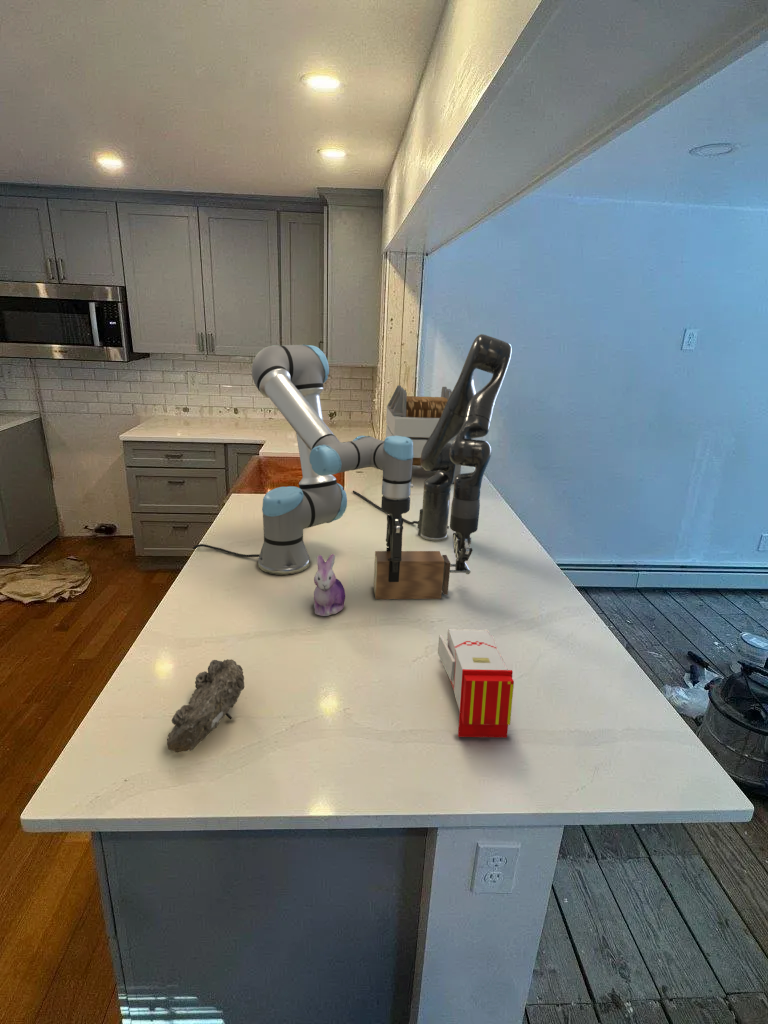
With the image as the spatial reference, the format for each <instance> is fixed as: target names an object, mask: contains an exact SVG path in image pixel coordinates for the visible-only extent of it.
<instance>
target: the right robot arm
mask: <svg viewBox="0 0 768 1024" xmlns="http://www.w3.org/2000/svg"><path fill="white" fill-rule="evenodd" d="M512 351H513V350H512V345H511V344H510V343H509V342H506V341H504V340H501V339H499V338H497V337H493V336H490V335H487V334H483V333H481V334H478V335H477V336H476V337H475V339H474V340H473V342H472V344H471V346H470V348H469V350H468V354H467V356H466V359H465V362H464V363H463V366H462V368H461V372H460V374H459V377H458V379H457V381H456V383H455V385H454V387H453V389H452V390H451V391H452V393H451V395H450V397H449V399H448V401H447V403H446V405H445V407H444V410H443V412H442V415H441V417H440V419H439V421H438V423H437V425H436V427H435V429H434V431H433V432H432V434H431V436H430V437H429V439H428V440H427V442H426V444H425V445H424V447H423V449H422V452H421V457H420V462H421V466H420V467H422V469H423V470H424V471H427V472H434V474H433V475H431V476H429V477H428V478H427V479H425V480H424V482H423V493H422V496H423V497H422V506H421V508H420V509H419V516H418V520H412V521H410V520H407V519H405V518H404V517H402V518H403V523H406V524H408V525H411V526H412V525H415V524H416V525H417V527H416V528H417V535H418V536H420V538H421V539H424V540H426V541H432V542H440V541H444V540H446V539H447V538H448V530H449V529H450V530H451V531H452V532H453V533H452V543H453V554H454V557H455V564H456V565H455V567H454V570H464V567H465V563H466V562H469V560H470V557H471V555H472V553H473V547H471V544H472V537H471V535H472V534H473V533H476V532H478V528H479V520H480V519H479V518H480V510H481V509H480V508H481V499H480V498H481V490H482V489H481V488H482V483H483V478H484V475H485V473H486V469H487V467H488V464H489V463H490V460H491V457H492V454H493V453H492V451H493V450H492V446H491V444H490V443H489V442H488V441H486V440H482V439H480V438H484V437H486V436H487V435H488V434H489V432H490V427H491V423H492V419H493V418H492V417H493V413H494V408H495V405H496V402H497V400H498V399H497V398H498V397H499V394H500V391H501V388H502V385H503V382H504V379H505V376H506V374H507V370H508V368H509V364H510V361H511V357H512ZM475 370H480V371H483V372H486V373H488V374H492V376H491V378H490V379H489V381H488V382H487V383H486V385H484V386H483V387H482V388H481V389H480V390H478V391H477V392H476V387H475V381H474V373H475ZM454 437H456V438H455V440H454V441H453V443H452V444H451V443H448V442H449V441H450V440H452V439H453V438H454ZM455 465H461V467H471V468H475V469H474V470H473V471H471V472H465V473H461V474H459V475H457V476H456V477H455V481H454V483H453V479H454V472H455ZM452 486H453V493H451V491H452ZM352 493H353V494H355V495H357V496H359V497H360V498H361V499H363V500H364V501H366V502H368V503H369V504H370V505H371V506H373V507H375V508H377V509H378V510H380V511H382V512H384V511H383V510H382V508H381V506H379V505H378V504H376V503H374V502H373V501H371V500H369V498H367V497H366V496H364V495H363V494H361V493H360V492H358V491H356V490H352ZM451 494H452V500H451ZM450 504H451V505H450ZM450 507H451V508H450ZM384 513H385V514H387V515H388V513H386V512H384ZM449 514H450V516H449ZM449 517H450V519H449Z"/></svg>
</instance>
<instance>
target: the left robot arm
mask: <svg viewBox="0 0 768 1024" xmlns="http://www.w3.org/2000/svg"><path fill="white" fill-rule="evenodd" d="M329 374H330V365H329V361H328V358H327V356H326V355H325V353H324V351H322V349H320V348H319V347H318V346H316V345H310V344H279V345H278V344H273V345H268V346H266V347H264V348H262V349H261V350H259V352H257V354H256V355H255V356H254V359H253V360H252V365H251V376H252V380H253V383H254V386H255V387H256V389H257V390H258V392H260V394H261V395H262V396H263V397H265V398H268V399H270V401H271V402H272V403H273V405H274V406H275V407H276V408H277V411H279V412H280V414H281V415H282V416H283V417H284V419H285V420H286V422H288V424H289V425H290V426H291V428H292V429H293V431H295V434H296V441H297V448H298V454H299V460H300V468H301V474H302V477H301V480H300V481H299V482H298V486H294V485H288V486H279V487H276V488H273V489H271V490H269V491H267V492H266V493H265V494H264V495H263V498H262V508H261V512H262V525H263V527H262V529H263V543H262V546H261V549H260V553H259V554H257V553H256V554H255V553H254V554H253V553H251V554H244V553H238V552H234V551H231V550H227V549H225V548H223V547H222V548H221V547H217V546H213V545H209V544H205V543H199V544H196V545H194V546H193V547H192V549H193V550H196V549H197V548H201V547H202V548H207V549H212V550H216V551H220V552H223V553H226V554H229V555H233V556H237V557H240V558H241V557H242V558H258V559H257V562H258V563H257V564H258V569H260V570H261V571H262V572H263V573H266V574H270V575H274V576H275V575H276V576H288V575H295V574H298V573H299V574H300V573H302V572H304V571H305V570H307V569H308V568H309V566H310V556H309V553H308V550H307V547H306V544H305V542H304V530H305V529H309V528H313V527H316V526H320V525H324V524H330V523H332V522H335V521H338V520H339V519H341V518H342V517H343V515H344V514H345V513H346V510H347V507H348V496H347V492H346V490H345V489H344V486H343V485H342V484H340V483H338V481H337V478H336V476H334V475H337V474H340V473H344V472H350V471H356V470H361V469H362V470H363V469H367V468H374V469H377V470H380V471H382V479H381V495H382V496H381V504H380V505H381V506H380V507H381V508H382V510H383V511H384V513H385V512H386V513H385V514H387V513H388V514H387V515H386V533H385V535H386V536H385V542H386V544H385V545H386V550H385V551H391V557H390V558H388V561H389V582H399V569H400V561H401V560H402V558H401V553H402V551H403V532H404V526H403V525H404V521H403V518H404V517H403V515H404V514H407V513H408V512H409V511H411V497H410V496H411V492H412V491H411V488H413V487H414V484H413V483H412V474H413V466H412V463H413V456H414V454H413V441H412V440H411V439H410V438H408V437H404V436H403V437H402V436H389V437H387V438H386V437H385V438H384V440H382V439H379V438H376V437H374V436H370V435H358V436H357V437H355V438H353V439H352V440H350V441H349V440H348V441H342V442H341V441H340V440H339V439H338V437H337V436H336V435H335V434H334V433H333V431H332V430H331V428H329V426H328V425H327V424H326V422H324V417H323V412H322V411H323V410H322V404H321V397H320V395H321V394H322V392H323V390H324V384H325V383H326V382H327V381H328V379H329ZM382 510H381V511H382ZM383 511H382V512H383Z"/></svg>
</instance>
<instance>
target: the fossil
mask: <svg viewBox="0 0 768 1024" xmlns="http://www.w3.org/2000/svg"><path fill="white" fill-rule="evenodd" d="M243 670H244V669H243V667H242V665H240V664H237V662H236V661H235V660H234V659H232V658H231V659H227V658H226V659H224V660H223V661H222V660H217V659H212V660H211V661H210V663H209V665H208V666H207V671H201V672H199V673H198V674H197V675H196V676H195V680H194V684H195V685H194V687H195V689H194V690H193V693H192V694H191V697H190V698H189V700H188V704H184V705H182V706H181V707H180V709H177V710H176V711H175V713H174V715H173V716H172V718H171V723H172V724H173V727H172V730H171V731H170V732H168V734H167V738H166V741H167V742H166V745H167V749H168V750H169V751H173V752H174V753H176V754H178V753H182V752H188V751H189V752H192V751H193V750H195V748H196V747H197V746H199V744H200V743H201V742H203V741H204V740H205V739H206V738H207V737H208V736H209V735H210V734H211V733H212V732H214V730H215V729H217V727H218V726H219V724H220V722H221V721H222V720H223V719H224V718H225V716H226V717H227V719H229V720H233V717H232V715H230V714H229V710H230V709H231V708H234V706H235V704H236V703H237V702H238V699H239V697H240V695H241V693H242V691H243V690H245V689H244V688H245V675H244V671H243Z"/></svg>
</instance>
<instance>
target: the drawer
mask: <svg viewBox="0 0 768 1024" xmlns="http://www.w3.org/2000/svg"><path fill="white" fill-rule="evenodd" d="M441 555H442V557H443V559H444V572H443V583H442V594H443V596H444V595H445V596H446V595H448V594H449V586H450V585H449V584H450V576H451V575H450V574H457V573H458V574H461V573H462V574H465V575H470V574H471V573H472V572H471V570H470V568H469V566H468V564H467V563H466V562H465V567H464V570H455V569H451V568H455V565H456V563H451V562H450V559H449V557H448V555H447V554H441Z"/></svg>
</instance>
